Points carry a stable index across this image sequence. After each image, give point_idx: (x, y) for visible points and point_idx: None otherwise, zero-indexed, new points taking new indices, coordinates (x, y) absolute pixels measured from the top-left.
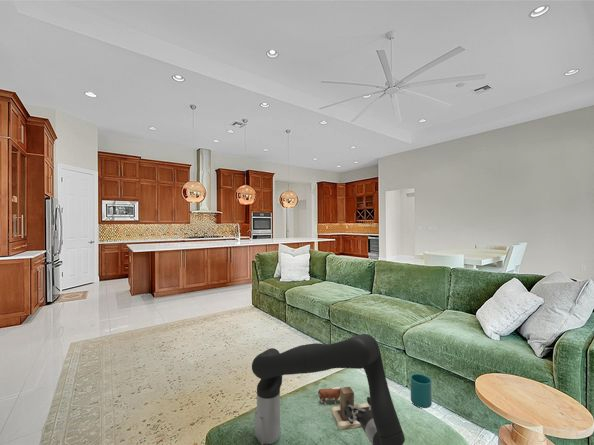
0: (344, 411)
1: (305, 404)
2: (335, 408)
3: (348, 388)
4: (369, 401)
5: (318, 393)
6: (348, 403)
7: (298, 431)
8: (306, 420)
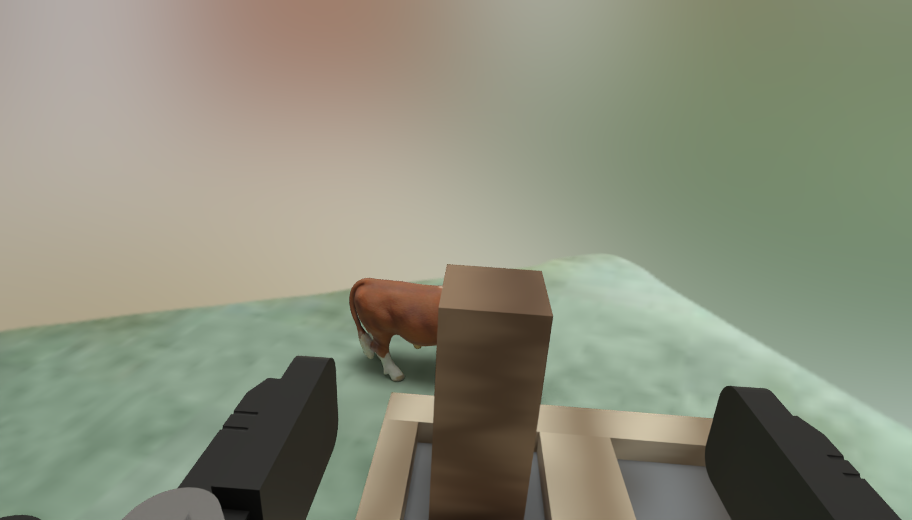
0: (437, 454)
1: (281, 347)
2: (418, 406)
3: (517, 279)
4: (776, 491)
5: (349, 301)
6: (251, 440)
7: (32, 514)
8: (186, 440)
